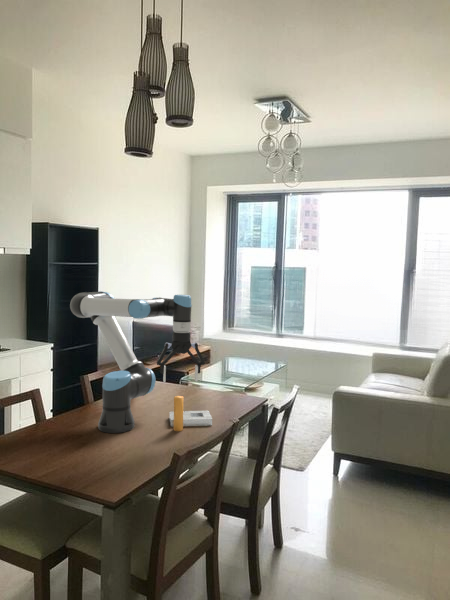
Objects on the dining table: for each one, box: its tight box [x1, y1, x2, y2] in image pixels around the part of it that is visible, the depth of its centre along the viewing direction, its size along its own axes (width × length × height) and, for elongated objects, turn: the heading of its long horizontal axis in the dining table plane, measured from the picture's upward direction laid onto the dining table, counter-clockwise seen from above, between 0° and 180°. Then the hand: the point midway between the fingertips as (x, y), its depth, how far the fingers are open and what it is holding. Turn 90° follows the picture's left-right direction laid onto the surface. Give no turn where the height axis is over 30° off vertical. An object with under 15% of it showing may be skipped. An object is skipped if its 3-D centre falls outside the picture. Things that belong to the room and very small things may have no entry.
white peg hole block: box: [168, 409, 213, 428], centre depth 213 cm, size 18×12×3 cm, turn 99°
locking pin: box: [173, 395, 185, 432], centre depth 202 cm, size 4×4×14 cm
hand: (180, 381), depth 202 cm, fingers open, 13 cm apart
